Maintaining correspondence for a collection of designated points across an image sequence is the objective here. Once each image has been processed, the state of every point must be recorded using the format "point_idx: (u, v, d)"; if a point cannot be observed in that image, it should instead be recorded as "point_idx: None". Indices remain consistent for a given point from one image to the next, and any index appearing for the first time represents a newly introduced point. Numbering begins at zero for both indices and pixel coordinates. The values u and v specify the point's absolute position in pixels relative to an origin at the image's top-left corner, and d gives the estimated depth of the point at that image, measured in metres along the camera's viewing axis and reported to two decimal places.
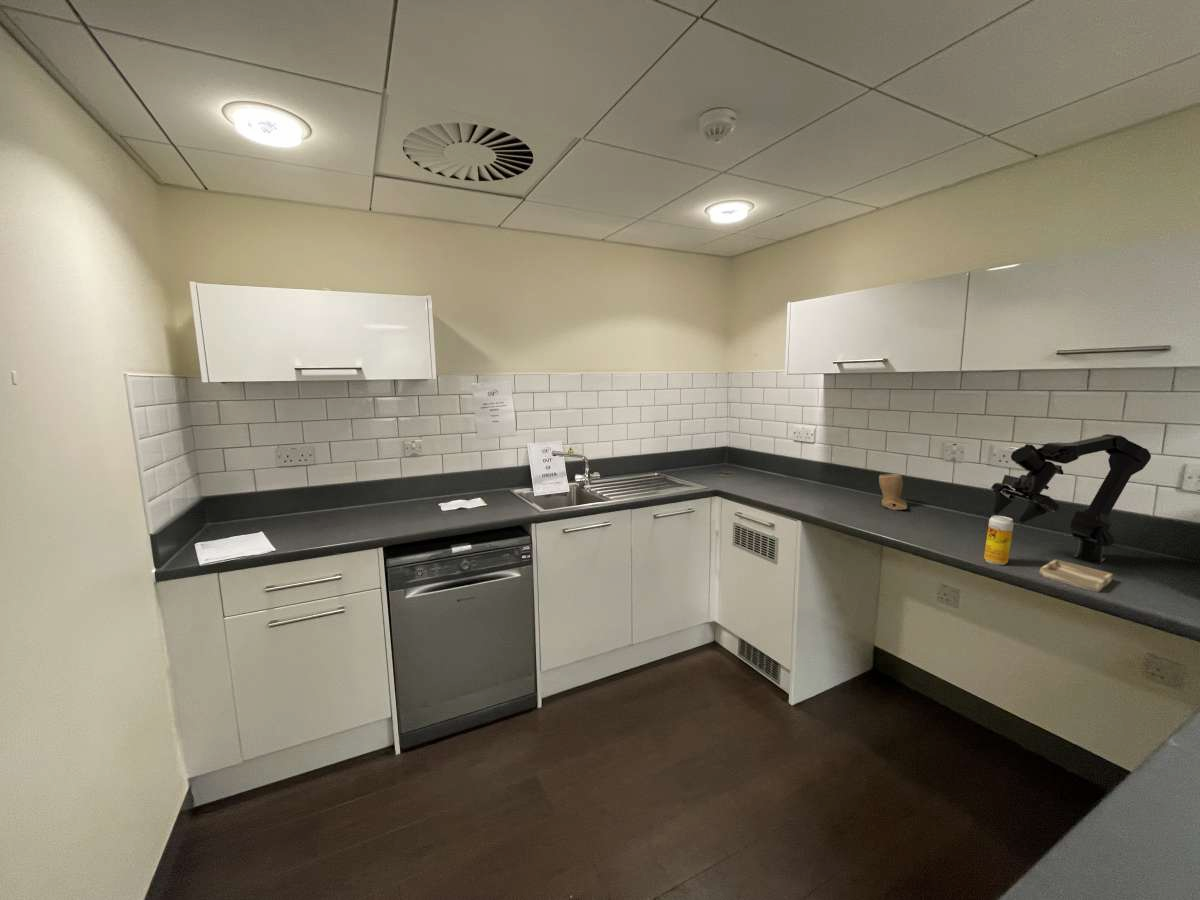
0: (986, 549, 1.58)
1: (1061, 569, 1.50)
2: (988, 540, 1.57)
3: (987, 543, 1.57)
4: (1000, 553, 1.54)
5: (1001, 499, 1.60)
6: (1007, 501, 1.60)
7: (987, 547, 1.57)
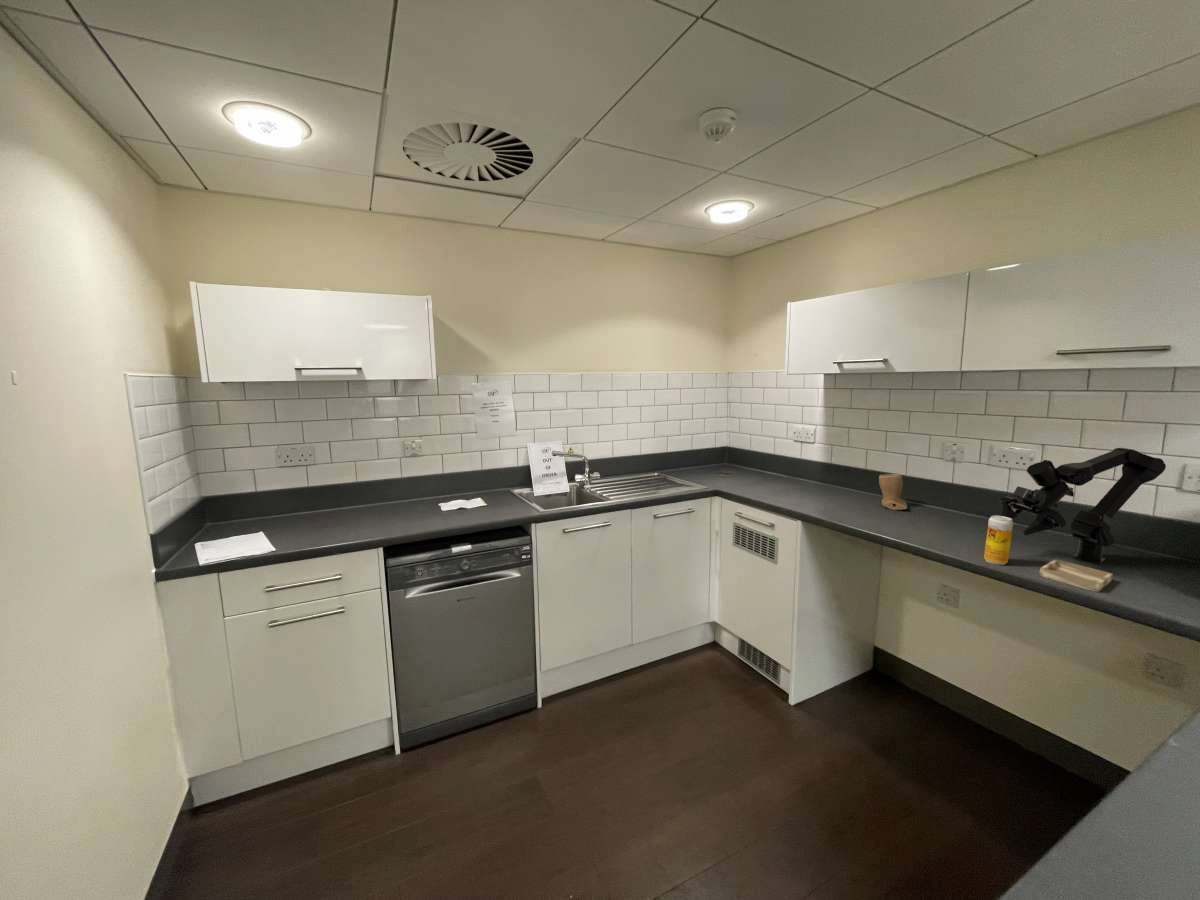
0: (986, 549, 1.58)
1: (1061, 569, 1.50)
2: (988, 540, 1.57)
3: (987, 543, 1.57)
4: (1000, 553, 1.54)
5: (1007, 512, 1.60)
6: (1013, 515, 1.61)
7: (987, 547, 1.57)
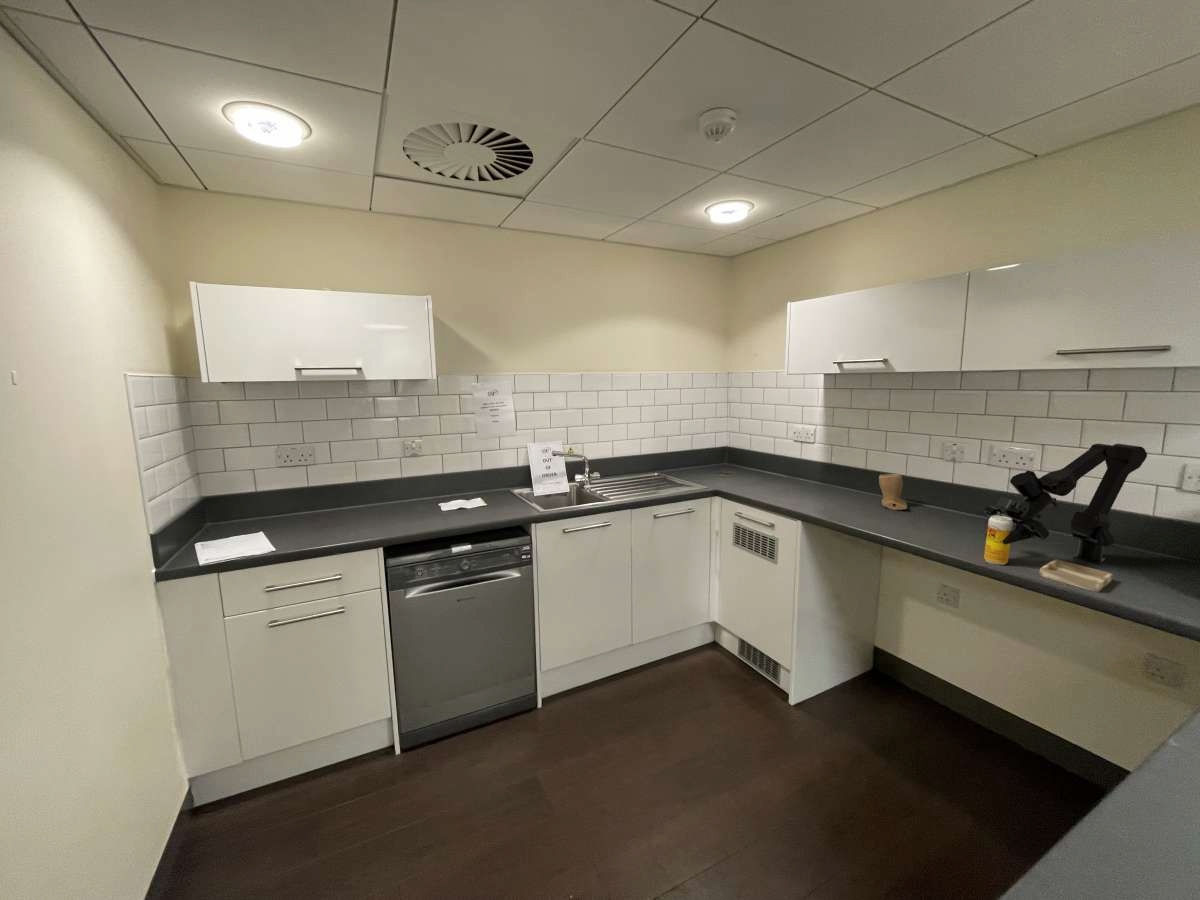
0: (986, 549, 1.58)
1: (1061, 569, 1.50)
2: (988, 540, 1.57)
3: (987, 543, 1.57)
4: (1000, 553, 1.54)
5: None
6: None
7: (987, 547, 1.57)
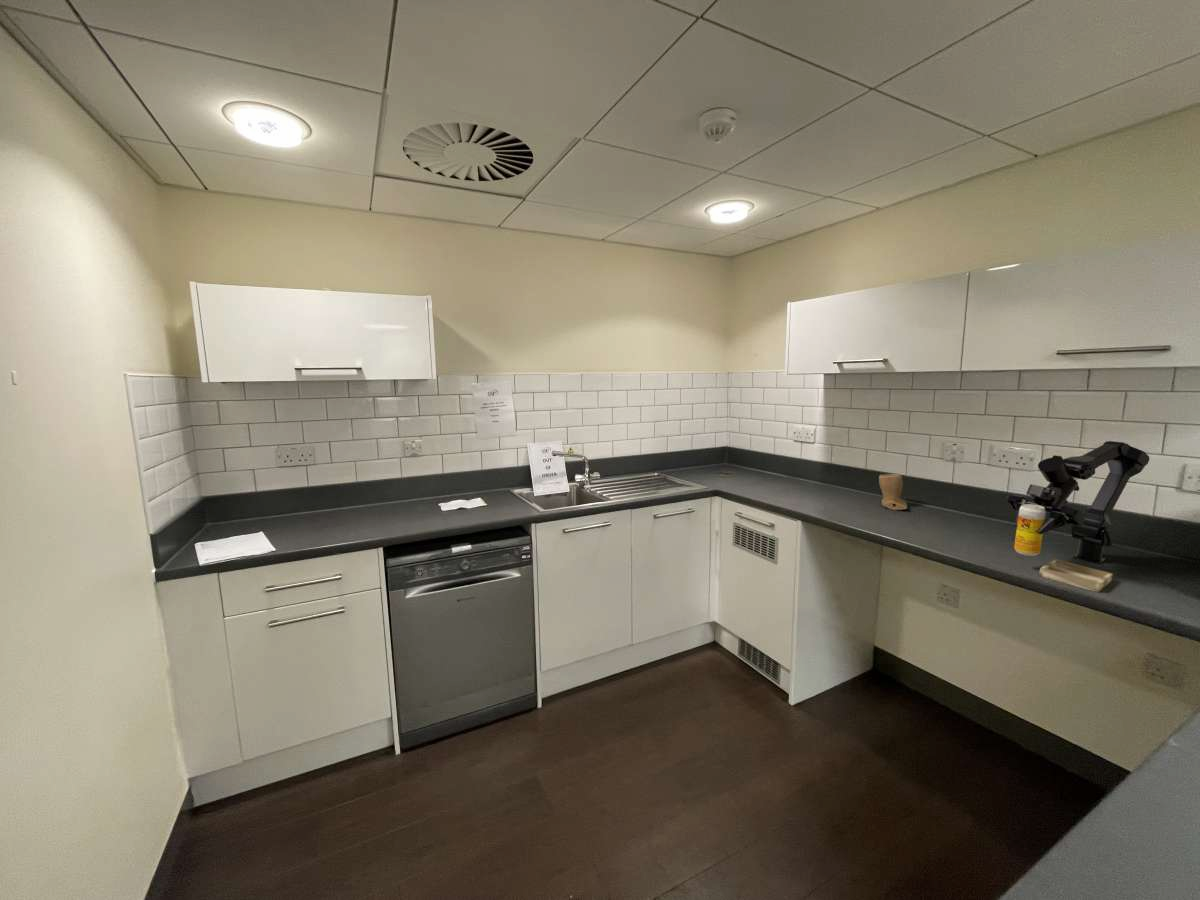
0: (1018, 540, 1.50)
1: (1061, 569, 1.50)
2: (1020, 531, 1.49)
3: (1019, 534, 1.50)
4: (1034, 543, 1.47)
5: None
6: None
7: (1019, 538, 1.49)
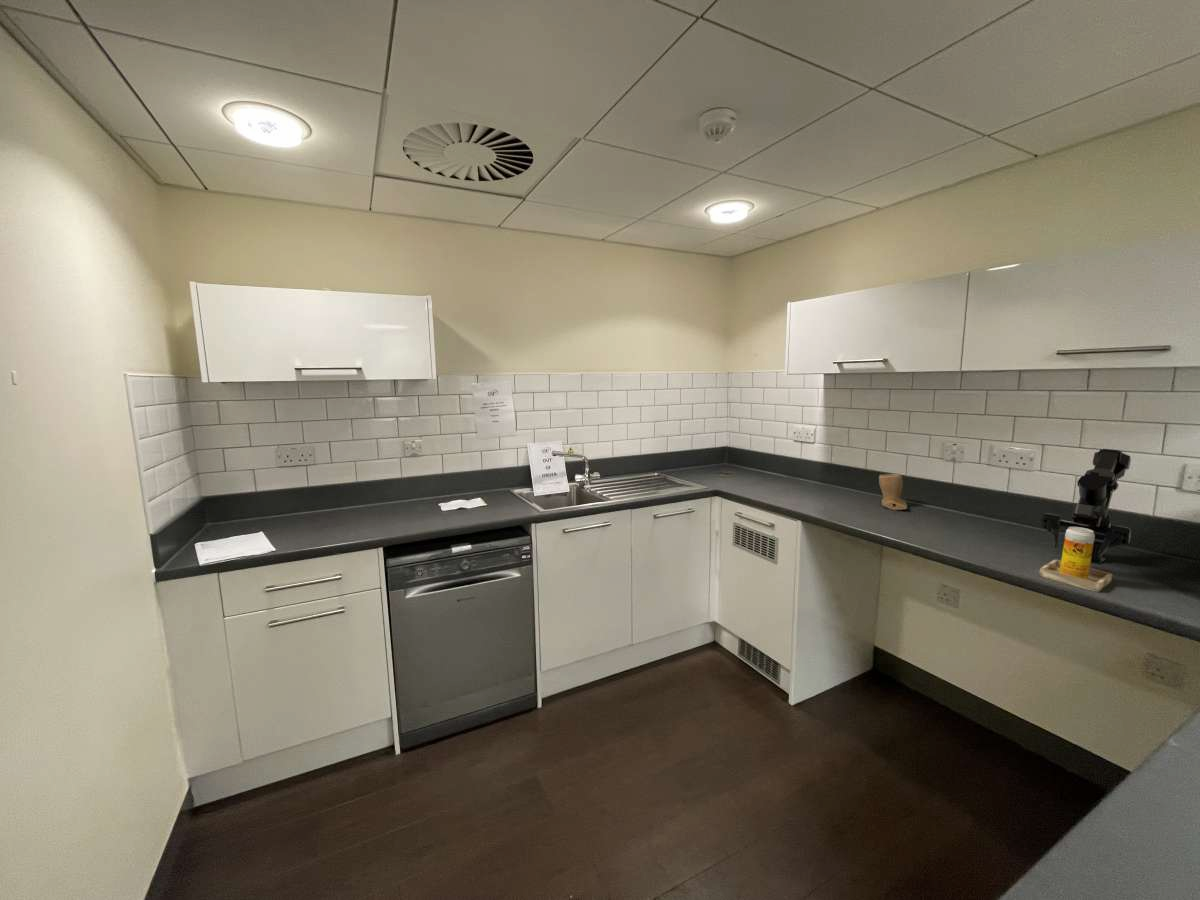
0: (1068, 566, 1.42)
1: None
2: (1071, 556, 1.41)
3: (1070, 559, 1.42)
4: (1086, 568, 1.40)
5: (1058, 531, 1.46)
6: (1059, 533, 1.48)
7: (1070, 564, 1.42)
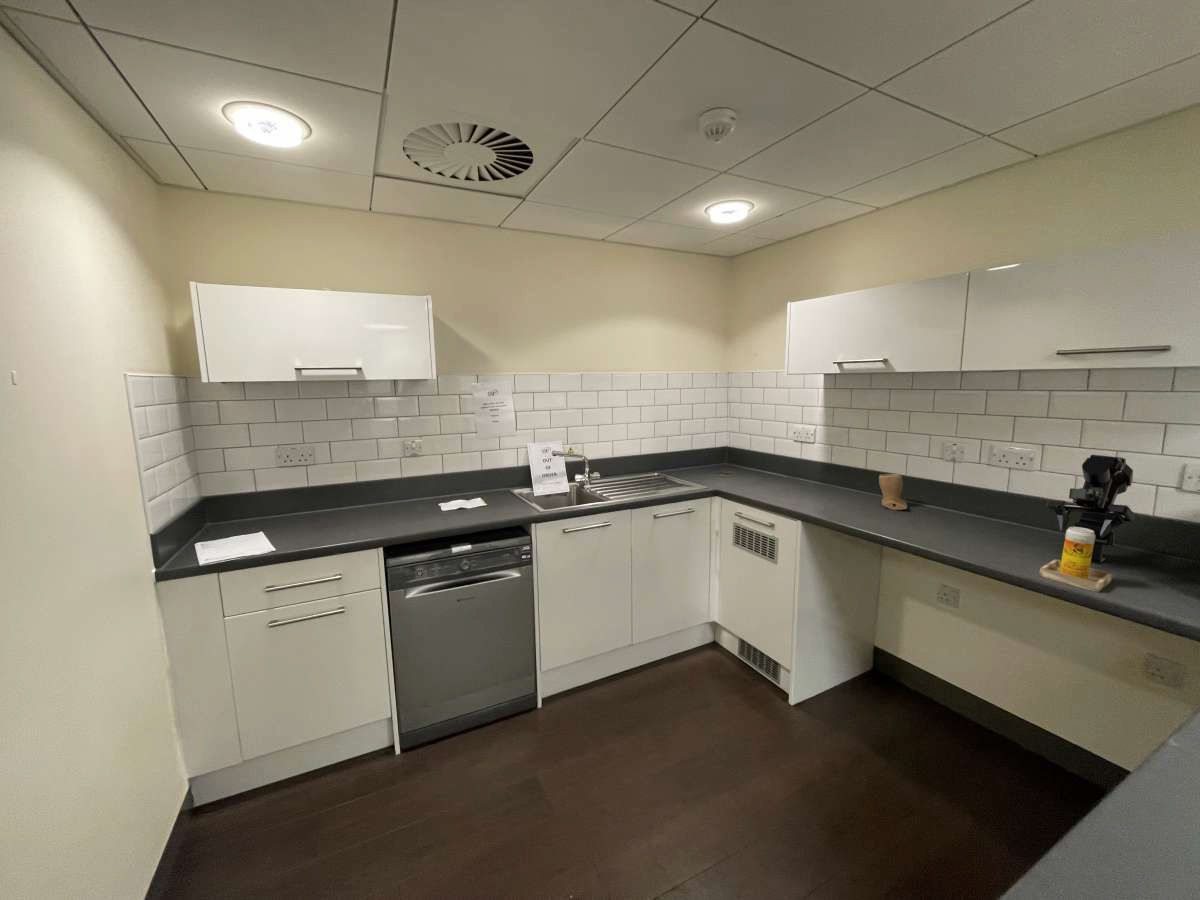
0: (1068, 566, 1.42)
1: None
2: (1072, 556, 1.41)
3: (1070, 559, 1.42)
4: (1086, 568, 1.40)
5: (1063, 516, 1.52)
6: (1067, 518, 1.53)
7: (1070, 564, 1.42)
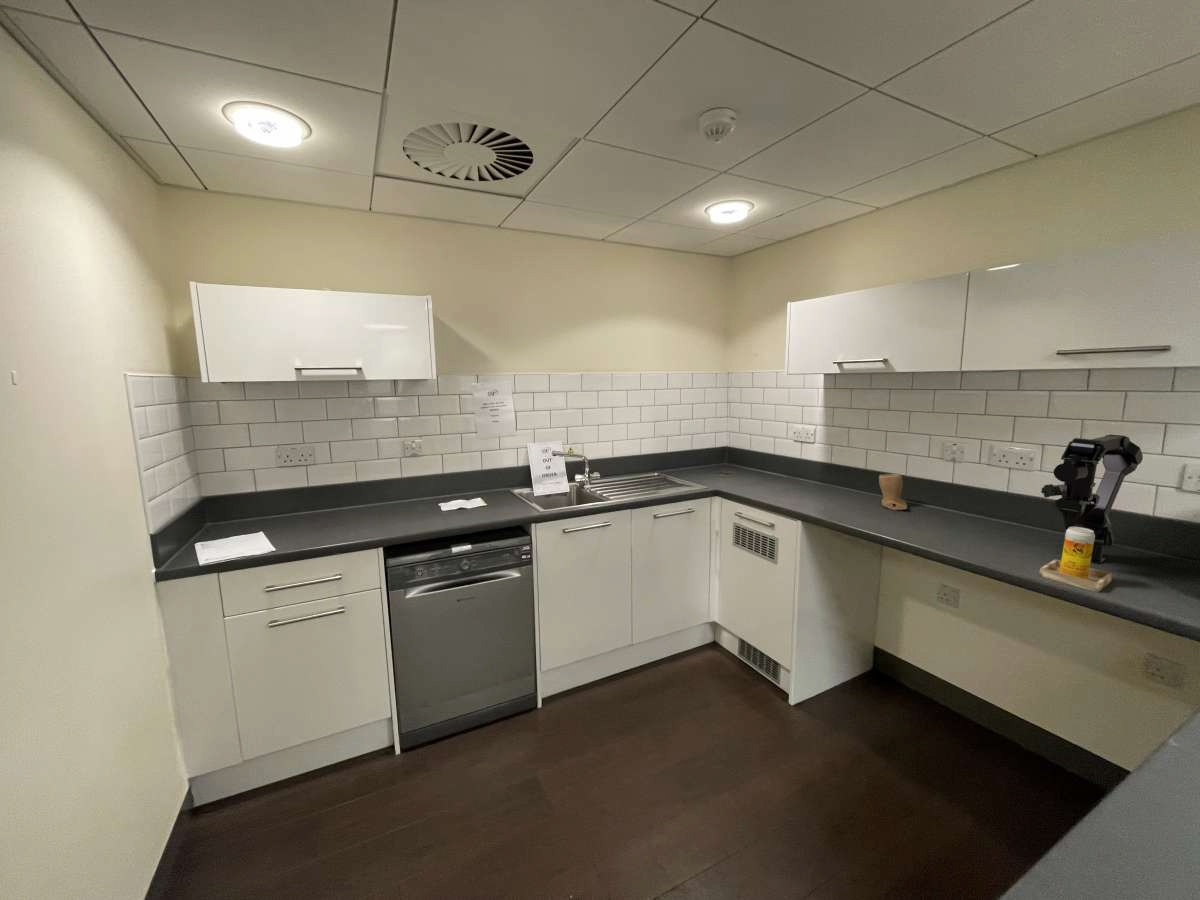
0: (1068, 566, 1.42)
1: None
2: (1072, 556, 1.41)
3: (1070, 559, 1.42)
4: (1086, 568, 1.40)
5: None
6: (1087, 508, 1.53)
7: (1070, 564, 1.42)
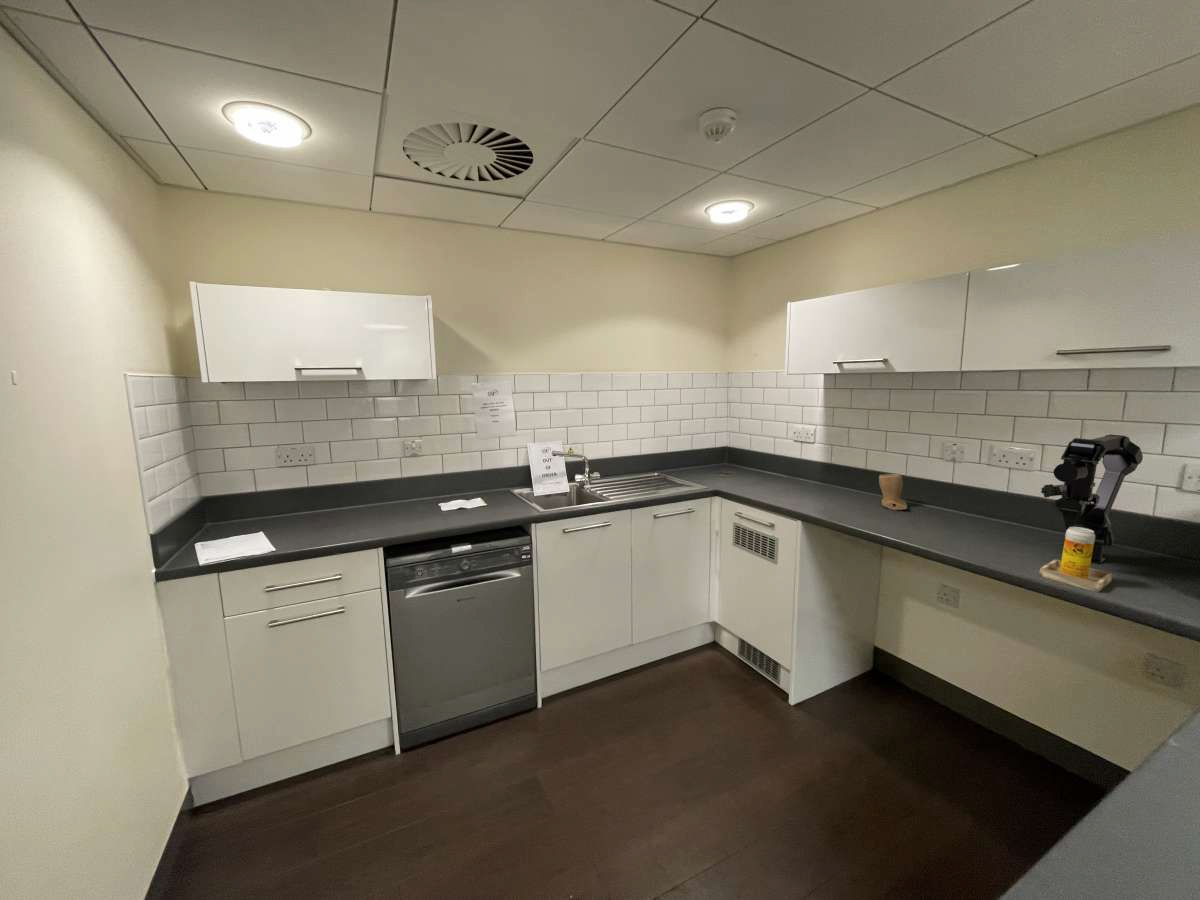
0: (1068, 566, 1.42)
1: None
2: (1072, 556, 1.41)
3: (1070, 559, 1.42)
4: (1086, 568, 1.40)
5: None
6: (1087, 508, 1.53)
7: (1070, 564, 1.42)
